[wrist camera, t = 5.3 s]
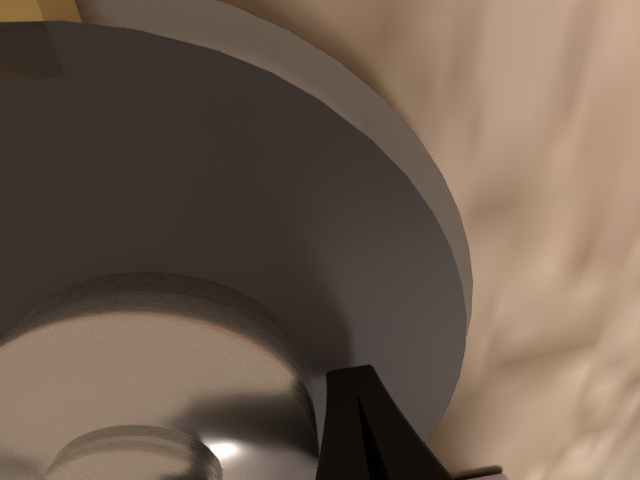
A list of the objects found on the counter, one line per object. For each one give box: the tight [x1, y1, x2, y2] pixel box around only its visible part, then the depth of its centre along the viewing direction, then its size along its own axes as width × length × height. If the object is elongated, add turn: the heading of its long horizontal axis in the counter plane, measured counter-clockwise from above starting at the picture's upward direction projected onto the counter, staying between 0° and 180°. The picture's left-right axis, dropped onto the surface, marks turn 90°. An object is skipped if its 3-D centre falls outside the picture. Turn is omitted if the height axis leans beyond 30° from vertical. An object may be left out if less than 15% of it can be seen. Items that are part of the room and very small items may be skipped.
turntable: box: [0, 0, 467, 456], centre depth 11 cm, size 22×20×2 cm
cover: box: [0, 272, 319, 480], centre depth 9 cm, size 9×9×4 cm
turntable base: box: [75, 0, 473, 337], centre depth 13 cm, size 22×22×1 cm
